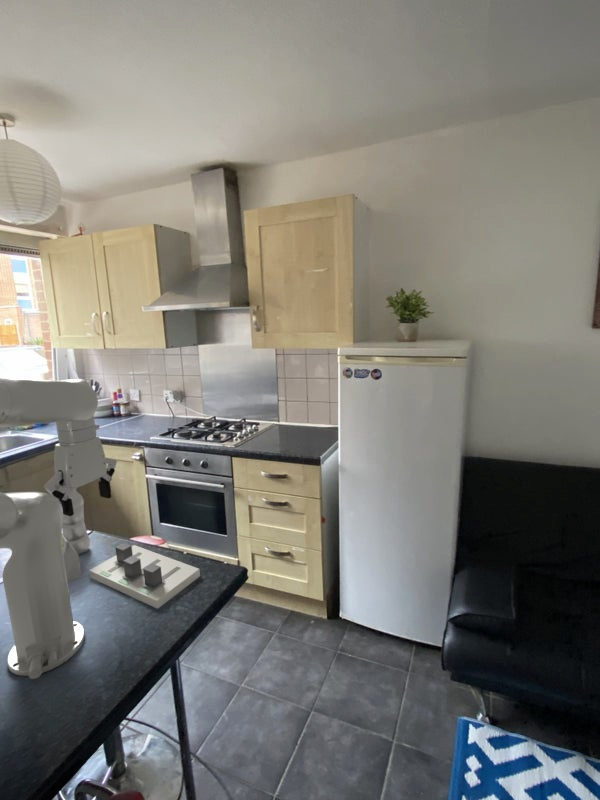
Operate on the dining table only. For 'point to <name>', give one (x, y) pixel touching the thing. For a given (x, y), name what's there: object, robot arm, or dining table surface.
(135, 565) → the block
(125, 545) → the block
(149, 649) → the dining table surface
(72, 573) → the white printed box
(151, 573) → the breaker near
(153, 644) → the dining table surface
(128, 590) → the panel
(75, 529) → the plastic bottle
